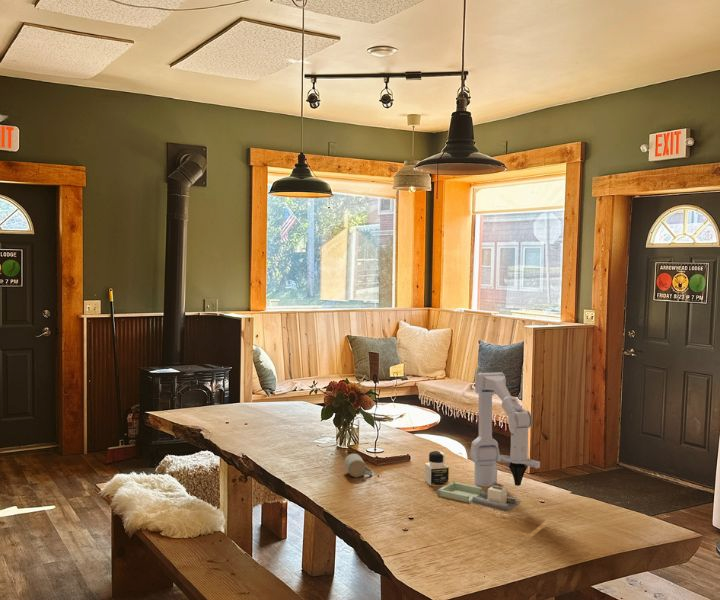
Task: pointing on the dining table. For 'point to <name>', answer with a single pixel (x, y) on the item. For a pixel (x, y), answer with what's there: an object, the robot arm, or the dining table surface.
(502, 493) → the beige cardboard box
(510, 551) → the dining table surface
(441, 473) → the medicine bottle
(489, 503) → the dock
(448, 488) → the tray
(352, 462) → the ceramic mug
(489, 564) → the dining table surface
